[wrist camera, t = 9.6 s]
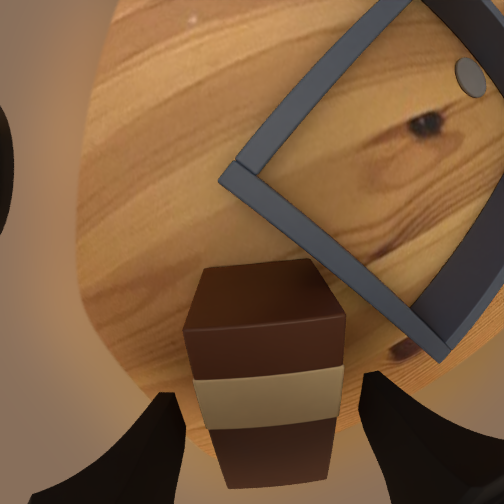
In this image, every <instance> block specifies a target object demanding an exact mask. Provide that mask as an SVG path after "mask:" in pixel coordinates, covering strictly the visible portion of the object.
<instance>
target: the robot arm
mask: <svg viewBox="0 0 504 504" xmlns="http://www.w3.org/2000/svg"><path fill="white" fill-rule="evenodd" d="M358 411H359V415H360V418H361V422H362V425H363V428H364V431H365V434H366V436H367V438H368V441H369V443H370V445H371V447H372V450H373V452H374V454H375V456H376V459H377V461H378V463H379V465H380V468H381V470H382V473H383V475H384V478H385V481H386V485H387V488H388V492H389V496H390V500H391V503H392V504H504V440H502V439H498V438H494V437H490V436H486V435H483V434H480V433H477V432H474V431H471V430H469V429H466V428H464V427H461V426H459V425H457V424H455V423H453V422H451V421H449V420H446V419H445V418H443V417H441V416H439V415H438V414H436V413H434V412H433V411H431V410H430V409H428V408H426V407H425V406H423V405H422V404H420V403H419V402H417V401H416V400H415V399H413V398H412V397H411V396H410V395H408V394H407V393H406V392H404V391H403V390H402V389H401V388H399V387H398V386H397V385H396V384H394V383H393V382H392V381H391V380H389V379H388V378H387V377H386V376H385V375H383V374H382V373H381V372H380V371H374V372H369V373H364V377H363V383H362V389H361V395H360V401H359V406H358ZM185 437H186V425H185V422H184V419H183V416H182V413H181V411H180V408H179V405H178V402H177V399H176V396H175V393H174V392H159V393H158V394H157V396H156V397H155V398H154V399H153V401H152V402H151V403H150V404H149V406H148V407H147V408H146V410H145V411H144V412H143V413H142V415H141V416H140V417H139V418H138V419H137V421H136V422H135V423H134V424H133V425H132V427H131V428H130V429H129V430H128V431H127V432H126V433H125V434H124V435H123V436H122V437H121V438H120V439H119V440H118V441H117V442H116V443H115V444H114V445H113V446H112V447H111V448H110V449H109V450H108V451H107V452H106V453H105V454H104V455H102V456H101V457H100V458H99V459H97V460H96V461H95V462H93V463H92V464H91V465H89V466H88V467H86V468H85V469H83V470H82V471H80V472H79V473H77V474H76V475H74V476H72V477H71V478H69V479H67V480H65V481H63V482H61V483H59V484H57V485H55V486H53V487H50V488H48V489H45V490H43V491H40V492H38V493H34V494H32V496H31V498H30V500H29V502H28V504H174V498H175V491H176V487H177V482H178V476H179V473H180V468H181V463H182V458H183V453H184V449H185Z"/></svg>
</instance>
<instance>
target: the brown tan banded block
mask: <svg viewBox="0 0 504 504" xmlns="http://www.w3.org/2000/svg"><path fill="white" fill-rule="evenodd" d="M345 326H346V314H345V312H344V310H343V309H342V307H341V305H340V304H339V302H338V301H337V299H336V298H335V296H334V294H333V293H332V291H331V290H330V288H329V287H328V285H327V284H326V282H325V281H324V279H323V277H322V276H321V274H320V273H319V271H318V270H317V268H316V267H315V265H314V264H313V262H312V261H311V259H302V260H292V261H281V262H271V263H260V264H250V265H239V266H228V267H217V268H206V269H204V270H203V273H202V276H201V279H200V281H199V284H198V287H197V290H196V293H195V295H194V298H193V301H192V304H191V307H190V310H189V312H188V315H187V318H186V321H185V324H184V327H183V330H182V331H183V336H184V340H185V344H186V349H187V353H188V357H189V361H190V365H191V369H192V373H193V385H194V389H195V392H196V396H197V399H198V403H199V406H200V410H201V413H202V417H203V420H204V423H205V426H206V429H208V430H209V433H210V437H211V440H212V443H213V446H214V449H215V452H216V456H217V459H218V462H219V465H220V467H221V470H222V473H223V476H224V479H225V482H226V485H227V487H228V489H243V488H261V487H273V486H283V485H292V484H299V483H307V482H313V481H319V480H324V479H327V475H328V470H329V464H330V458H331V452H332V446H333V440H334V434H335V427H336V420H337V417H338V416H339V411H340V403H341V395H342V387H343V377H344V367H345V366H344V364H343V355H344V342H345Z"/></svg>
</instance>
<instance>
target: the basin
mask: <svg viewBox="0 0 504 504" xmlns="http://www.w3.org/2000/svg"><path fill="white" fill-rule="evenodd" d="M411 1H412V0H379V1H378V2H377V3H376V4H375V5H374V6H373V7H372V8H370V9H369V10H368V11H367V12H366V13H365V14H364V15H363V16H362V17H361V18H360V19H359V20H358V21H357V22H356V23H355V24H354V25H353V26H352V27H351V28H350V29H349V30H348V31H347V32H346V33H345V34H344V35H343V36H342V37H341V38H340V39H339V40H338V41H337V42H336V43H335V44H334V45H333V46H332V47H331V48H330V49H329V50H328V51H327V52H326V54H325V55H324V56H323V57H322V58H321V59H320V60H319V61H318V62H317V63H316V64H315V65H314V66H313V67H312V68H311V70H310V71H309V72H308V73H307V74H306V75H305V76H304V77H303V78H302V79H301V81H300V82H299V83H298V84H297V85H296V86H295V87H294V88H293V89H292V91H291V92H290V93H289V94H288V95H287V96H286V97H285V99H284V100H283V101H282V102H281V103H280V104H279V105H278V107H277V108H276V109H275V110H274V111H273V112H272V114H271V115H270V116H269V117H268V118H267V119H266V121H265V122H264V123H263V124H262V125H261V127H260V128H259V129H258V130H257V131H256V133H255V134H254V135H253V136H252V137H251V139H250V140H249V141H248V142H247V144H246V145H245V146H244V147H243V149H242V150H241V151H240V152H239V153H238V155H237V156H236V158H235V159H236V161H235V160H234V161H232V162H231V164H230V165H229V166H228V167H227V169H226V170H225V171H224V172H223V174H222V175H221V176H220V178H219V179H218V183H219V184H220V185H222V186H223V187H224V188H226V189H227V190H228V191H230V192H231V193H232V194H234V195H235V196H236V197H237V198H239V199H240V200H241V201H243V202H244V203H245V204H247V205H248V206H249V207H251V208H252V209H253V210H254V211H256V212H257V213H258V214H260V215H261V216H262V217H263V218H265V219H266V220H267V221H269V222H270V223H271V224H272V225H274V226H275V227H276V228H277V229H279V230H280V231H281V232H283V233H284V234H285V235H286V236H288V237H289V238H290V239H291V240H293V241H294V242H295V243H296V244H298V245H299V246H300V247H301V248H303V249H304V250H305V251H306V252H308V253H309V254H310V255H311V256H313V257H314V258H315V259H316V260H318V261H319V262H320V263H321V264H322V265H324V266H325V267H326V268H327V269H329V270H330V271H331V272H332V273H333V274H335V275H336V276H337V277H338V278H340V279H341V280H342V281H343V282H344V283H346V284H347V285H348V286H349V287H350V288H352V289H353V290H354V291H355V292H356V293H358V294H359V295H360V296H361V297H362V298H364V299H365V300H366V301H367V302H368V303H370V304H371V305H372V306H373V307H374V308H375V309H377V310H378V311H379V312H380V313H381V314H383V315H384V316H385V317H386V318H387V319H388V320H390V321H391V322H392V323H393V324H394V325H395V326H397V327H398V328H399V329H400V330H401V331H402V332H403V333H405V334H406V335H407V336H408V337H409V338H410V339H412V340H413V341H414V342H415V343H416V344H417V345H418V346H420V347H421V348H422V349H423V350H424V351H425V352H426V353H427V354H429V355H430V356H431V357H432V358H433V359H434V360H435V361H436V362H438V363H439V364H440V363H441V362H442V361H443V360H444V359H445V358H446V357H447V356H448V354H449V353H450V352H451V350H453V349H454V348H455V347H456V345H457V344H458V343H459V342H460V341H461V340H462V338H463V337H464V336H465V335H466V334H467V332H468V331H469V330H470V329H471V328H472V326H473V325H474V324H475V322H476V321H477V320H478V319H479V317H480V316H481V315H482V313H483V312H484V311H485V309H486V308H487V307H488V305H489V304H490V303H491V301H492V300H493V298H494V297H495V296H496V294H497V293H498V291H499V290H500V288H501V287H502V285H503V284H504V174H503V176H502V178H501V180H500V181H499V183H498V185H497V187H496V189H495V190H494V192H493V194H492V195H491V197H490V199H489V201H488V202H487V204H486V205H485V207H484V209H483V210H482V212H481V214H480V215H479V217H478V218H477V220H476V221H475V223H474V224H473V226H472V227H471V229H470V230H469V232H468V233H467V235H466V236H465V238H464V239H463V241H462V242H461V244H460V245H459V246H458V248H457V249H456V251H455V252H454V253H453V255H452V256H451V257H450V259H449V260H448V262H447V263H446V264H445V266H444V267H443V268H442V269H441V271H440V272H439V273H438V275H437V276H436V277H435V279H434V280H433V281H432V282H431V284H430V285H429V286H428V287H427V289H426V290H425V291H424V292H423V293H422V295H421V296H420V297H419V298H418V299H417V301H416V302H415V303H414V304H413V305H412V306H411V309H410V308H409V307H408V306H407V305H406V304H405V303H404V302H403V301H402V300H401V299H400V298H398V297H397V296H396V295H395V294H394V293H393V292H392V291H391V290H390V289H389V288H388V287H387V286H386V285H385V284H384V283H382V282H381V281H380V280H379V279H378V278H377V277H376V276H375V275H374V274H373V273H372V272H370V271H369V270H368V269H367V268H366V267H365V266H364V265H363V264H362V263H360V262H359V261H358V260H357V259H356V258H355V257H354V256H353V255H351V254H350V253H349V252H348V251H347V250H346V249H345V248H343V247H342V246H341V245H340V244H339V243H338V242H337V241H335V240H334V239H333V238H332V237H331V236H330V235H328V234H327V233H326V232H325V231H324V230H323V229H321V228H320V227H319V226H318V225H317V224H315V223H314V222H313V221H312V220H311V219H310V218H308V217H307V216H306V215H305V214H304V213H302V212H301V211H300V210H299V209H297V208H296V207H295V206H294V205H293V204H291V203H290V202H289V201H288V200H286V199H285V198H284V197H283V196H281V195H280V194H279V193H278V192H276V191H275V190H274V189H273V188H271V187H270V186H269V185H268V184H266V183H265V182H264V181H263V180H261V179H260V178H259V177H257V176H256V175H258V174H259V173H260V171H261V170H262V169H263V168H264V167H265V165H266V164H267V163H268V162H269V160H270V159H271V158H272V157H273V156H274V154H275V153H276V152H277V151H278V149H279V148H280V147H281V146H282V145H283V143H284V142H285V141H286V140H287V139H288V137H289V136H290V135H291V134H292V133H293V131H294V130H295V129H296V128H297V127H298V125H299V124H300V123H301V122H302V121H303V120H304V118H305V117H306V116H307V115H308V114H309V112H310V111H311V110H312V109H313V108H314V107H315V105H316V104H317V103H318V102H319V101H320V100H321V99H322V97H323V96H324V95H325V94H326V93H327V92H328V91H329V89H330V88H331V87H332V86H333V85H334V84H335V83H336V81H337V80H338V79H339V78H340V77H341V76H342V75H343V74H344V72H345V71H346V70H347V69H348V68H349V67H350V66H351V65H352V64H353V62H354V61H355V60H356V59H357V58H358V57H359V56H360V55H361V54H362V53H363V51H364V50H365V49H366V48H367V47H368V46H369V45H370V44H371V43H372V42H373V41H374V40H375V39H376V37H377V36H378V35H379V34H380V33H381V32H382V31H383V30H384V29H385V28H386V27H387V26H388V25H389V24H390V23H391V22H392V21H393V20H394V19H395V17H396V16H397V15H398V14H399V13H400V12H401V11H402V10H403V9H404V8H405V7H406V6H407V5H408V4H409V3H410V2H411ZM422 1H423V2H424V3H425V4H426V5H427V6H429V7H430V8H431V9H432V10H433V11H434V12H435V13H436V14H437V15H438V16H439V17H440V18H441V19H442V20H443V21H444V22H445V23H446V24H447V25H448V27H449V28H450V29H451V30H452V31H453V32H454V33H455V34H456V35H457V36H458V37H459V39H460V40H461V41H462V42H463V43H464V44H465V46H466V47H467V48H468V49H469V50H470V52H471V53H472V54H473V55H474V56H475V58H476V59H477V60H478V62H479V63H480V64H481V65H482V67H483V68H484V69H485V71H486V72H487V73H488V75H489V76H490V78H491V79H492V80H493V82H494V83H495V85H496V86H497V88H498V89H499V91H500V92H501V94H502V95H503V97H504V16H503V15H502V14H501V12H500V11H499V10H498V9H497V7H496V6H495V5H494V4H493V3H492V2H491V0H422ZM455 72H456V77H457V80H458V82H459V84H460V86H461V87H462V89H463V90H464V91H465V92H466V93H467V94H468V95H470V96H471V97H474V98H478V97H481V96H483V95H484V93H485V91H486V80H485V77H484V74H483V72H482V70H481V69H480V67H479V66H478V65H477V64H476V63H475V62H474V61H473V60H471V59H469V58H461V59H459V60H458V61H457V63H456V66H455Z"/></svg>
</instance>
